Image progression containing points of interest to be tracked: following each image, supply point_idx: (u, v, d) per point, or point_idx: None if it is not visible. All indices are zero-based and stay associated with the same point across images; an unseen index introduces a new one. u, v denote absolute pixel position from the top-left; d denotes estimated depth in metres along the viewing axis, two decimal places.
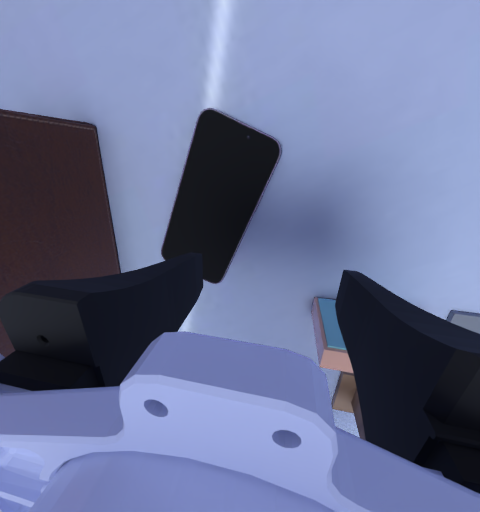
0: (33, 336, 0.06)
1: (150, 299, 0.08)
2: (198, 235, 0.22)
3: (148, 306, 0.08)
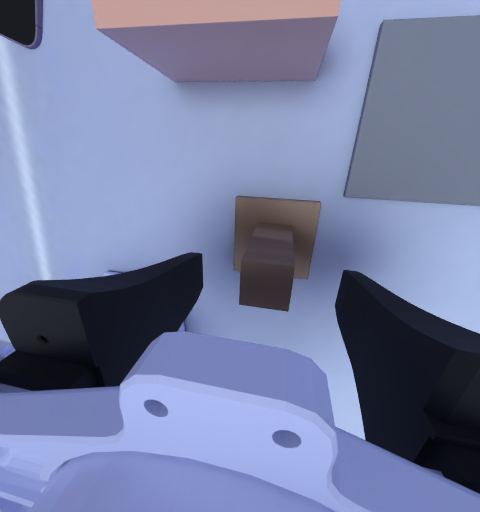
0: (33, 336, 0.06)
1: (150, 299, 0.08)
2: None
3: (148, 306, 0.08)
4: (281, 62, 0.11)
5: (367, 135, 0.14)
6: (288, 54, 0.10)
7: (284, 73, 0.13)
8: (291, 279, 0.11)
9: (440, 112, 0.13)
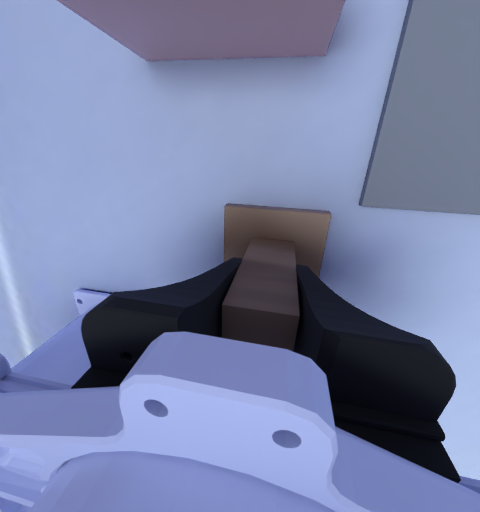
0: (116, 353, 0.05)
1: (215, 309, 0.07)
2: None
3: (213, 316, 0.07)
4: (280, 24, 0.08)
5: (393, 128, 0.11)
6: (291, 6, 0.07)
7: (285, 45, 0.10)
8: (294, 332, 0.07)
9: None
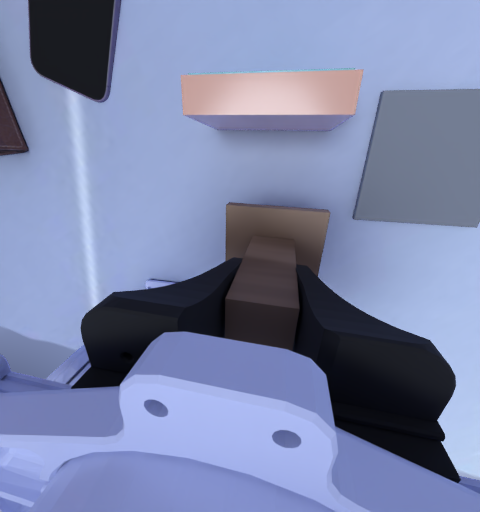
0: (116, 353, 0.05)
1: (214, 309, 0.07)
2: (66, 21, 0.18)
3: (213, 316, 0.07)
4: (307, 125, 0.15)
5: (372, 172, 0.18)
6: (315, 123, 0.14)
7: (307, 128, 0.17)
8: (294, 325, 0.08)
9: (428, 156, 0.17)
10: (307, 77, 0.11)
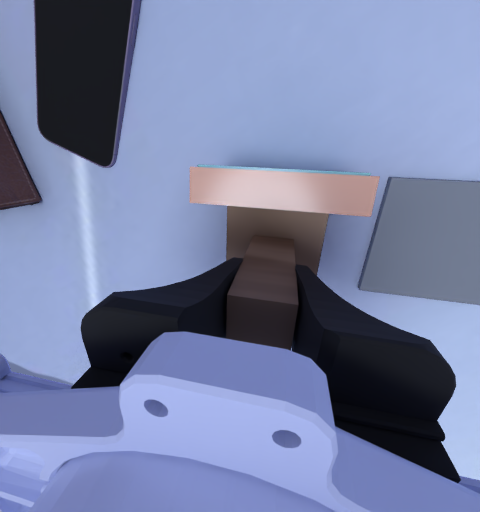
0: (116, 353, 0.05)
1: (215, 309, 0.07)
2: (73, 93, 0.18)
3: (213, 316, 0.07)
4: None
5: (378, 250, 0.18)
6: None
7: None
8: (293, 320, 0.08)
9: (435, 239, 0.17)
10: (321, 179, 0.11)
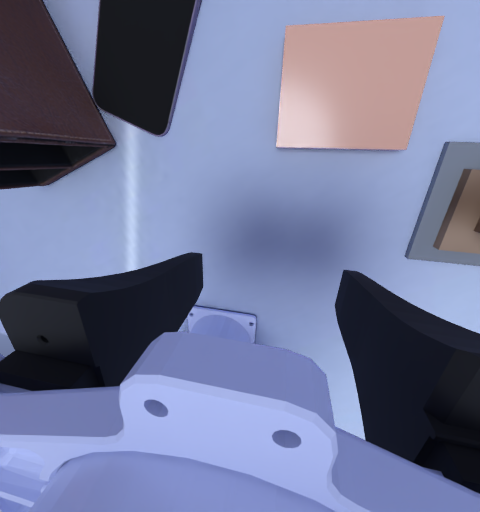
0: (33, 336, 0.06)
1: (150, 299, 0.08)
2: (133, 60, 0.18)
3: (148, 306, 0.08)
4: (388, 98, 0.15)
5: (430, 216, 0.18)
6: (399, 79, 0.15)
7: (383, 127, 0.16)
8: None
9: None
10: None
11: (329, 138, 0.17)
